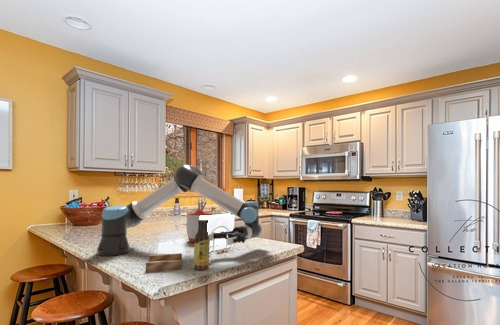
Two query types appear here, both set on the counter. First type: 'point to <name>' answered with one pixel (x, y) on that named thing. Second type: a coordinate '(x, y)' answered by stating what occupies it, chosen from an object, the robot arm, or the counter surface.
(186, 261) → the counter surface
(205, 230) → the sauce bottle
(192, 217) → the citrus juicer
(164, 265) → the groove board
